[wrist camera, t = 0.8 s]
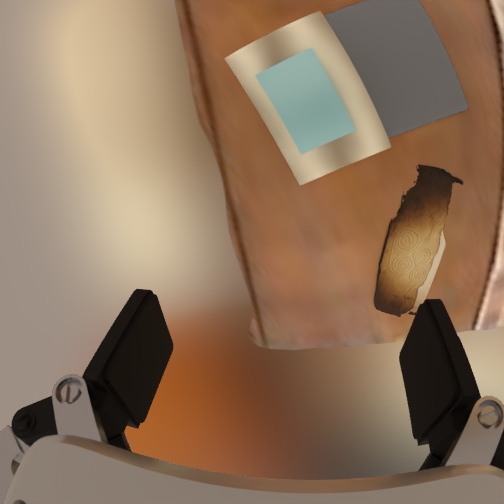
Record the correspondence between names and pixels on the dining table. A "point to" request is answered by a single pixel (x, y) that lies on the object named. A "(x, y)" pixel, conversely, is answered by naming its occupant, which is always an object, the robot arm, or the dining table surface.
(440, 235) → the parchment
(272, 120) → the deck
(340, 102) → the tile
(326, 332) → the dining table surface
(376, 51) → the mat
